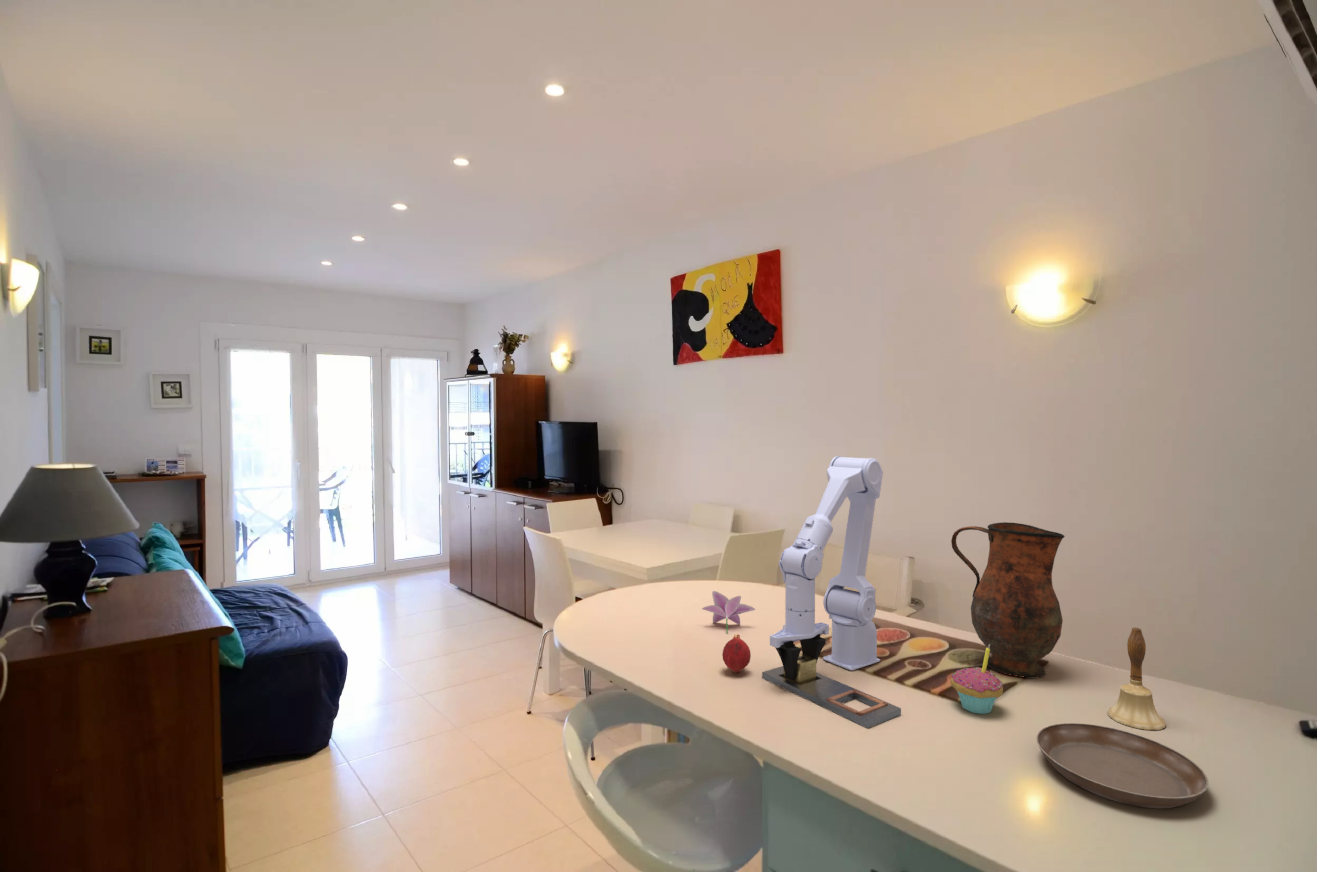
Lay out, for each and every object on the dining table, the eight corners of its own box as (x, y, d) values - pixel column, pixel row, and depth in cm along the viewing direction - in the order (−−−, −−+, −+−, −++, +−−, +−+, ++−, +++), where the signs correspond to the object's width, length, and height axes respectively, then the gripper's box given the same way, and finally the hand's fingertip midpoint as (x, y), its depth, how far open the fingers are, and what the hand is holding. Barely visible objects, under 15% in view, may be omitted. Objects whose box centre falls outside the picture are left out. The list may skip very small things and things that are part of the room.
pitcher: (1056, 692, 126) (1059, 536, 125) (939, 666, 139) (941, 525, 138) (1067, 666, 139) (1069, 524, 138) (959, 644, 152) (961, 515, 151)
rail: (793, 668, 138) (794, 661, 138) (900, 714, 117) (901, 706, 117) (762, 677, 133) (762, 670, 133) (867, 728, 112) (867, 720, 112)
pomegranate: (749, 679, 132) (749, 639, 132) (721, 676, 134) (721, 638, 133) (751, 668, 138) (751, 630, 138) (724, 666, 139) (724, 628, 139)
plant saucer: (1211, 773, 98) (1211, 751, 98) (1204, 840, 82) (1204, 814, 82) (1052, 729, 112) (1052, 710, 112) (1020, 780, 96) (1021, 757, 96)
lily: (761, 634, 163) (757, 595, 167) (738, 627, 154) (734, 586, 159) (719, 641, 169) (717, 603, 173) (695, 634, 160) (692, 595, 165)
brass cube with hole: (799, 676, 134) (799, 651, 134) (816, 684, 130) (816, 658, 130) (783, 681, 131) (783, 656, 131) (800, 689, 128) (800, 663, 127)
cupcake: (998, 702, 122) (999, 637, 121) (1006, 722, 114) (1007, 653, 113) (948, 695, 125) (948, 632, 124) (952, 715, 117) (953, 648, 116)
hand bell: (1096, 713, 117) (1098, 624, 117) (1126, 705, 120) (1127, 619, 120) (1146, 734, 109) (1148, 639, 109) (1177, 725, 113) (1179, 632, 112)
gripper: (810, 597, 138) (810, 661, 138) (759, 608, 130) (758, 677, 130) (837, 605, 132) (836, 672, 132) (784, 618, 124) (784, 689, 124)
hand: (799, 675), depth 131 cm, fingers closed on brass cube with hole, 4 cm apart
